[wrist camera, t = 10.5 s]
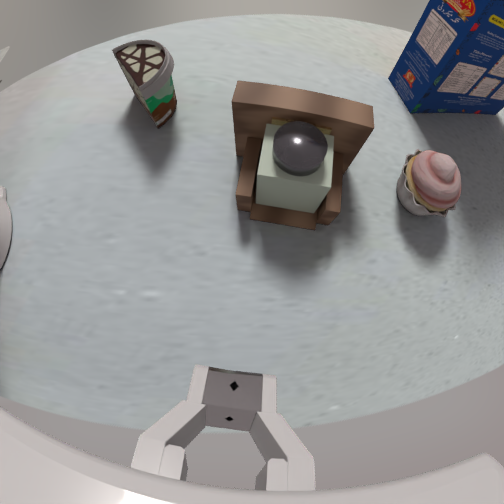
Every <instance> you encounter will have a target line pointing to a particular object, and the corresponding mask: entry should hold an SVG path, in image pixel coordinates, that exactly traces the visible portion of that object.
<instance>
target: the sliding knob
mask: <svg viewBox="0 0 504 504" xmlns="http://www.w3.org/2000/svg"><path fill="white" fill-rule="evenodd" d="M333 148H334V136H332V135H327V134H323V133H322V132H321V131H320V130H319V129H318V128H317V127H315V126H313V125H311V124H309V123H306V122H301V121H293V122H289V123H286V124H284V125H282V126H280V125H273V124H267V123H266V129H265V134H264V140H263V145H262V151H261V156H260V161H259V167H258V172H257V188H256V204H261V205H267V206H274V207H280V208H285V209H291V210H297V211H302V212H308V213H313V214H314V213H315V211H316V210H317V208H318V207H319V205H320V204H321V202H322V201H323V199H324V198H325V196H326V194H327V193H328V191H329V190H330V188H331V181H332V166H333Z"/></svg>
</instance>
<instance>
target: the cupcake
mask: <svg viewBox="0 0 504 504" xmlns="http://www.w3.org/2000/svg"><path fill="white" fill-rule="evenodd" d="M397 194H398V198H399V200H400V202H401V204H402V205H403V206H404V208H405V209H406V210H408V211H409V212H410V213H412V214H415V215H418V216H423V215H434V214H435V215H439V216H442V217H446V215H447V212H448V210H455V207H456V206H455V203H456V202H457V201H458V199H459V197H460V194H461V175H460V171H459V169H458V167H457V165H456V163H455V162H454V160H453V159H452V158H451V157H450V156H449V155H446V154H443V153H438V152H435V151H431V150H426V151H421V150H419V149H417V150H416V152H415V154H408V155H407V157H406V162H405V165H403V168H402V173H401V175H400V177H399V179H398V182H397Z"/></svg>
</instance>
